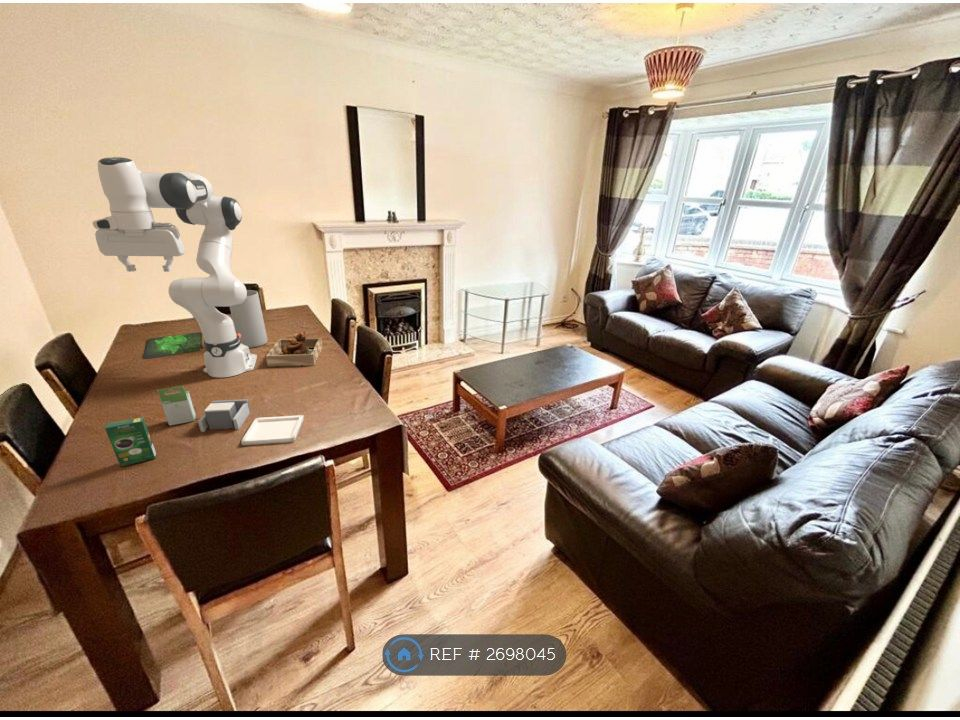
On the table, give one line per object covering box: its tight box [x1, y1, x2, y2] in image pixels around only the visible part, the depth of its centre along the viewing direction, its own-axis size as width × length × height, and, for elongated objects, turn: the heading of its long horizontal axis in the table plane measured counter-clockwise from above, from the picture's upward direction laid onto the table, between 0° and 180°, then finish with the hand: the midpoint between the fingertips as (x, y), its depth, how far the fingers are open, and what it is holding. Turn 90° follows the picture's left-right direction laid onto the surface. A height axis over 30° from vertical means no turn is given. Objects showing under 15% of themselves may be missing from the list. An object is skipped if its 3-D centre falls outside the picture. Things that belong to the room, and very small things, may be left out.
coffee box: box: [104, 416, 157, 467], centre depth 107 cm, size 8×3×13 cm, turn 120°
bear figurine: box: [278, 331, 313, 355], centre depth 174 cm, size 14×15×12 cm
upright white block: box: [204, 402, 237, 430], centre depth 125 cm, size 4×7×7 cm, turn 100°
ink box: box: [156, 385, 197, 427], centre depth 125 cm, size 7×4×13 cm, turn 117°
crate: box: [265, 337, 324, 368], centre depth 175 cm, size 20×19×5 cm
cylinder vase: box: [229, 289, 269, 349], centre depth 183 cm, size 12×12×25 cm
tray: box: [240, 414, 305, 446], centre depth 124 cm, size 13×15×2 cm
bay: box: [197, 398, 251, 433], centre depth 127 cm, size 11×11×5 cm
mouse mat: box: [142, 331, 203, 360], centre depth 183 cm, size 27×22×1 cm
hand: (150, 271), depth 114 cm, fingers open, 8 cm apart
